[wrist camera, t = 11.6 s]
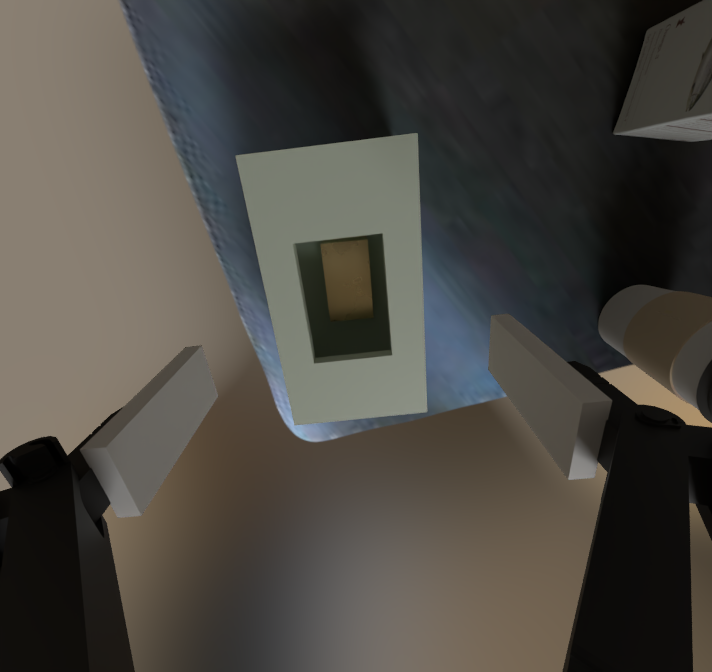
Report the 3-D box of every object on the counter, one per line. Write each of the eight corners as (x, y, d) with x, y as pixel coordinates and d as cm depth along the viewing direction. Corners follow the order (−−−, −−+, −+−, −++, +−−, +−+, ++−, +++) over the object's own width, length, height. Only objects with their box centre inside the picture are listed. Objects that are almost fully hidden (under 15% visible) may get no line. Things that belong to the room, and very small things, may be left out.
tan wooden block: (323, 239, 32) (320, 244, 29) (366, 235, 31) (367, 239, 29) (332, 311, 34) (330, 321, 32) (371, 307, 34) (373, 317, 31)
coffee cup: (688, 271, 34) (918, 325, 20) (662, 352, 38) (843, 446, 24) (596, 277, 34) (763, 336, 20) (579, 358, 38) (712, 455, 24)
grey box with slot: (270, 166, 30) (235, 155, 21) (396, 150, 30) (417, 132, 20) (308, 368, 38) (294, 425, 28) (408, 357, 37) (427, 412, 28)
